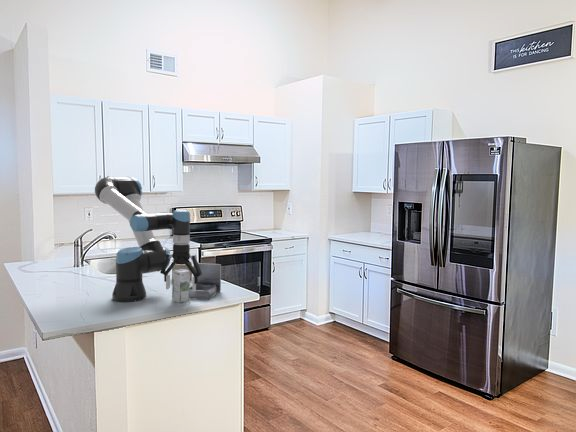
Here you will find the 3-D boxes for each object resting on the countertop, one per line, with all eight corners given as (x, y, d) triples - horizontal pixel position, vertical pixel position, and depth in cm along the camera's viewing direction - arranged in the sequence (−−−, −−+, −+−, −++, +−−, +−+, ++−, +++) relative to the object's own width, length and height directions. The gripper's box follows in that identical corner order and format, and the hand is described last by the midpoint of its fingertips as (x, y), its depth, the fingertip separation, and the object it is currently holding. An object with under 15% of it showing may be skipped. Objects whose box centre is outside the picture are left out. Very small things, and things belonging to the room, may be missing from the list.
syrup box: (181, 298, 217) (182, 268, 216) (189, 301, 213) (190, 270, 212) (171, 300, 213) (172, 270, 211) (179, 303, 209) (180, 272, 208)
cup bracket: (182, 297, 218) (183, 268, 217) (194, 289, 234) (194, 262, 232) (211, 299, 216) (211, 270, 215) (220, 291, 232) (221, 264, 230)
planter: (177, 282, 247) (177, 265, 246) (168, 279, 255) (168, 262, 254) (195, 280, 254) (195, 263, 253) (185, 276, 262) (186, 260, 261)
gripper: (152, 243, 209) (152, 289, 211) (204, 246, 205) (203, 293, 207) (159, 241, 216) (159, 285, 218) (209, 243, 213) (208, 289, 215)
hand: (180, 289), depth 213 cm, fingers open, 12 cm apart
